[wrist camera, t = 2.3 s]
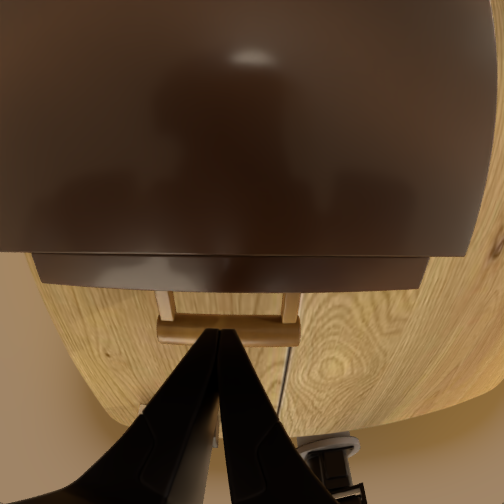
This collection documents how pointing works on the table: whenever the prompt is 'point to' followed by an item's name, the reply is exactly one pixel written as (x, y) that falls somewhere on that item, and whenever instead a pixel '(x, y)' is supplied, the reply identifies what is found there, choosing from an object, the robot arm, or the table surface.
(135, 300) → the table surface
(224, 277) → the drawer
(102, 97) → the cabinet
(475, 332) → the table surface
